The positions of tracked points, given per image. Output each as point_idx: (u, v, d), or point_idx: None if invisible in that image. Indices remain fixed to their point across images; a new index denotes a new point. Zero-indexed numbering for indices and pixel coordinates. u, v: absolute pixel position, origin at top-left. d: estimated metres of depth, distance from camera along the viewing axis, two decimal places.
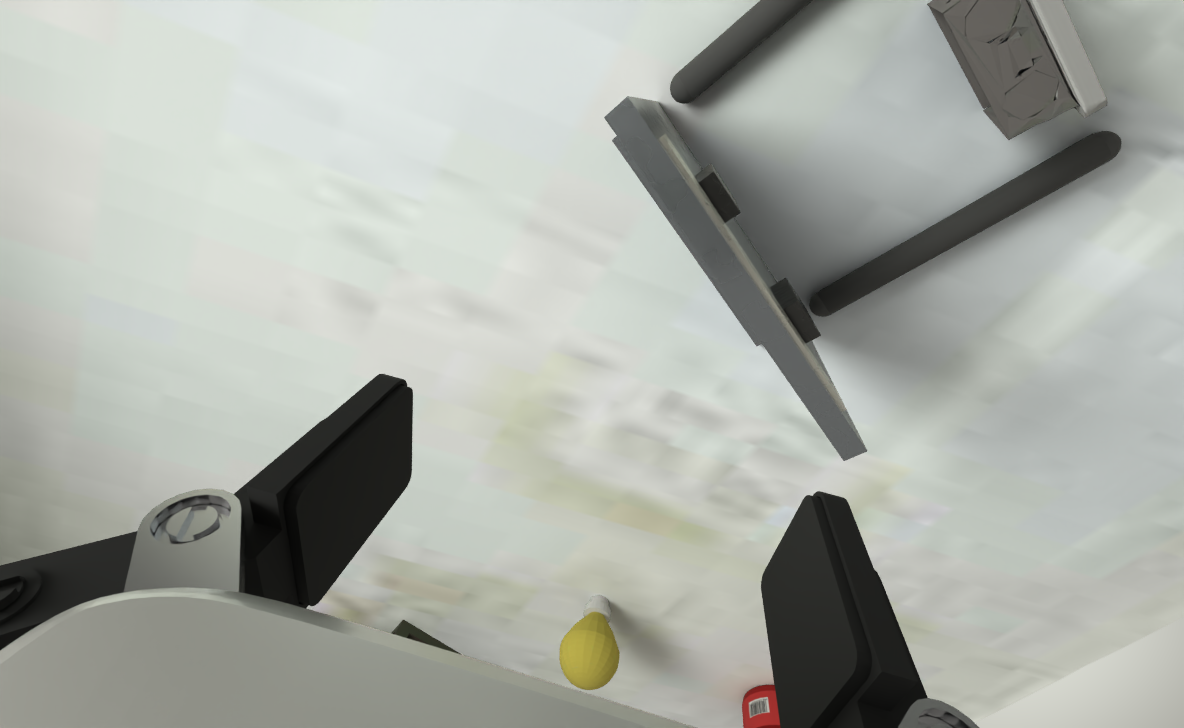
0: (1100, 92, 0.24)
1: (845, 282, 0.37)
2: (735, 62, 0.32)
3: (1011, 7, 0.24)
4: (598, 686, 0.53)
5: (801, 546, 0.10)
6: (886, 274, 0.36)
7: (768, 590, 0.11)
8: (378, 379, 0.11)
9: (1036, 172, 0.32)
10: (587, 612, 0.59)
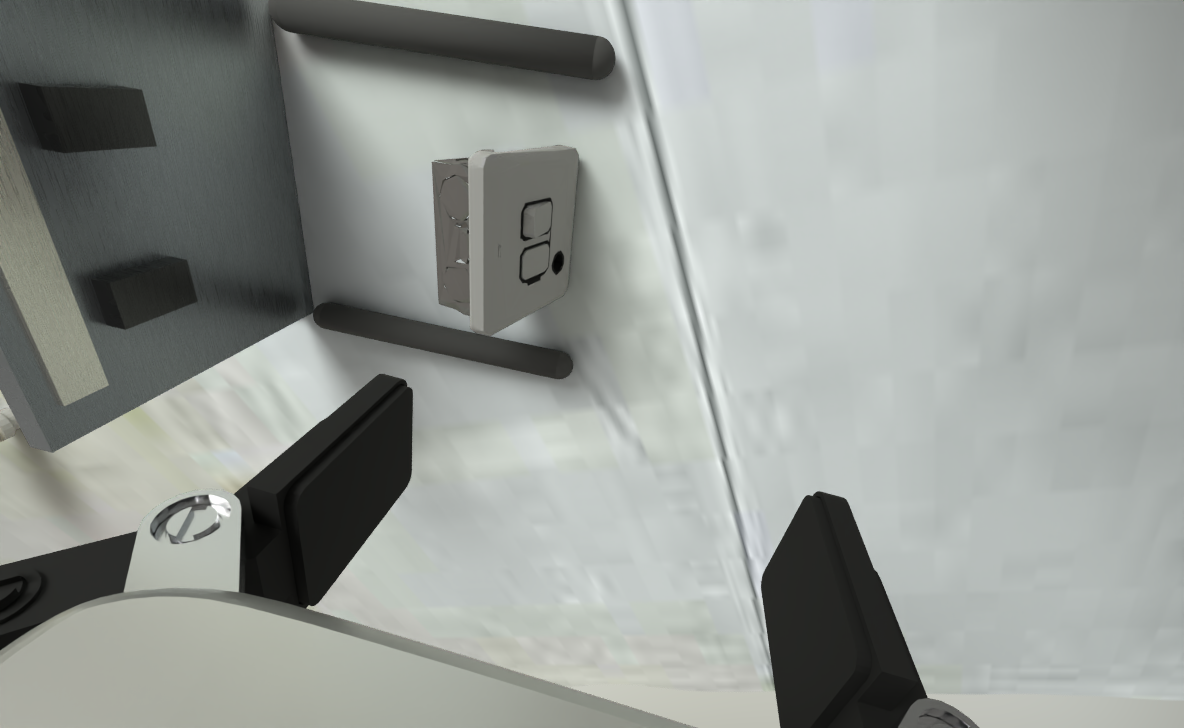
0: (481, 323, 0.26)
1: (348, 313, 0.36)
2: (339, 37, 0.28)
3: (468, 205, 0.24)
4: None
5: (801, 546, 0.10)
6: (377, 333, 0.36)
7: (768, 590, 0.11)
8: (378, 379, 0.11)
9: (513, 347, 0.35)
10: None
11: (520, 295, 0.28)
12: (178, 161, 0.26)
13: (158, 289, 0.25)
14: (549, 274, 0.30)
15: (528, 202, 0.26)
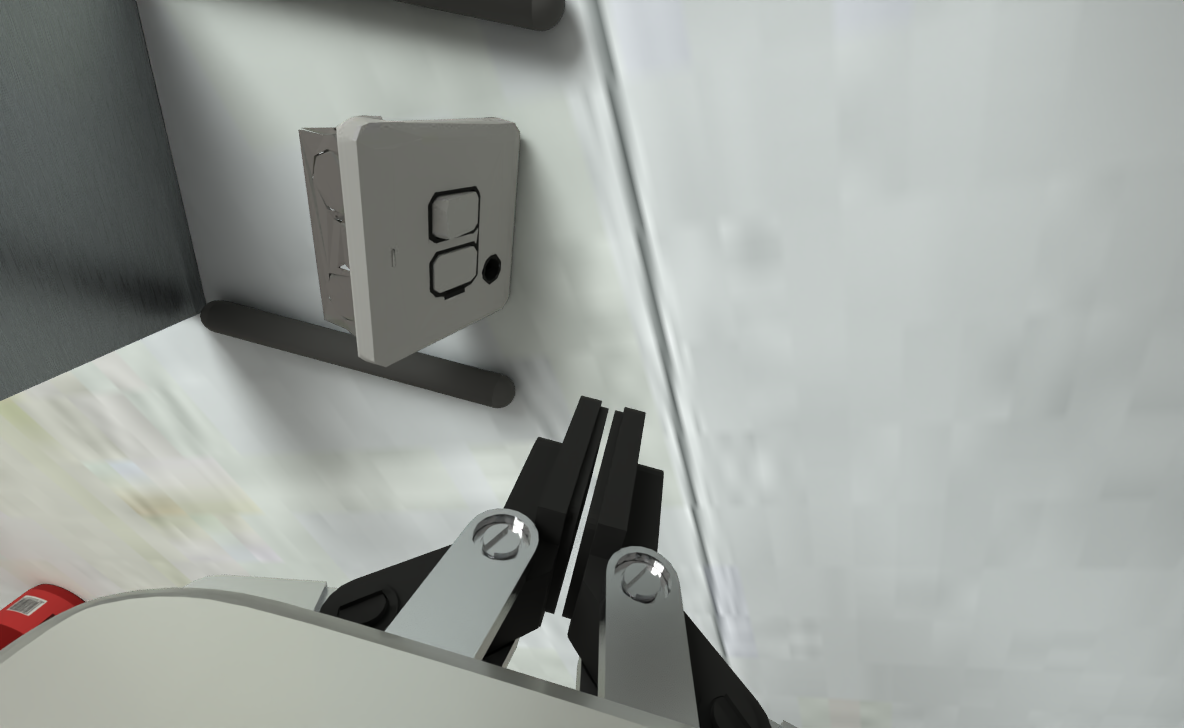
0: (371, 351, 0.20)
1: (242, 315, 0.30)
2: None
3: None
4: None
5: None
6: (276, 342, 0.29)
7: None
8: (583, 401, 0.11)
9: (441, 367, 0.29)
10: None
11: (434, 312, 0.22)
12: None
13: None
14: (479, 284, 0.24)
15: (439, 192, 0.19)
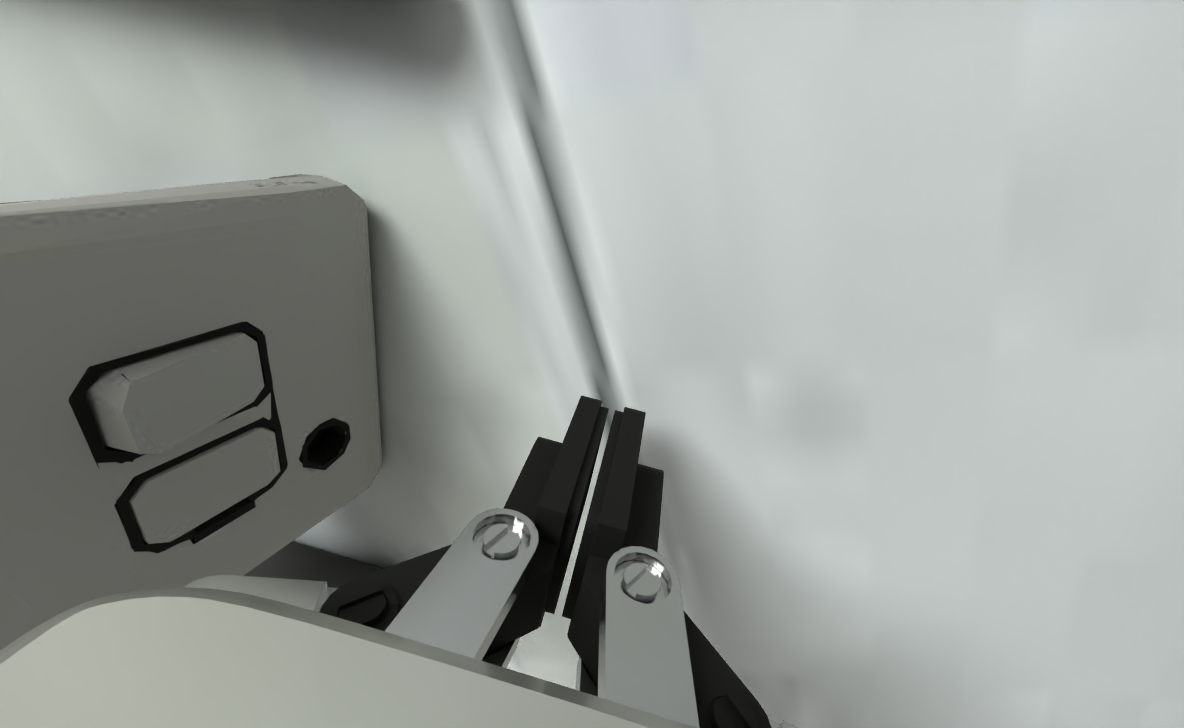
0: None
1: None
2: None
3: None
4: None
5: None
6: None
7: None
8: (583, 401, 0.11)
9: (280, 567, 0.17)
10: None
11: (163, 575, 0.10)
12: None
13: None
14: (295, 479, 0.13)
15: (109, 361, 0.08)
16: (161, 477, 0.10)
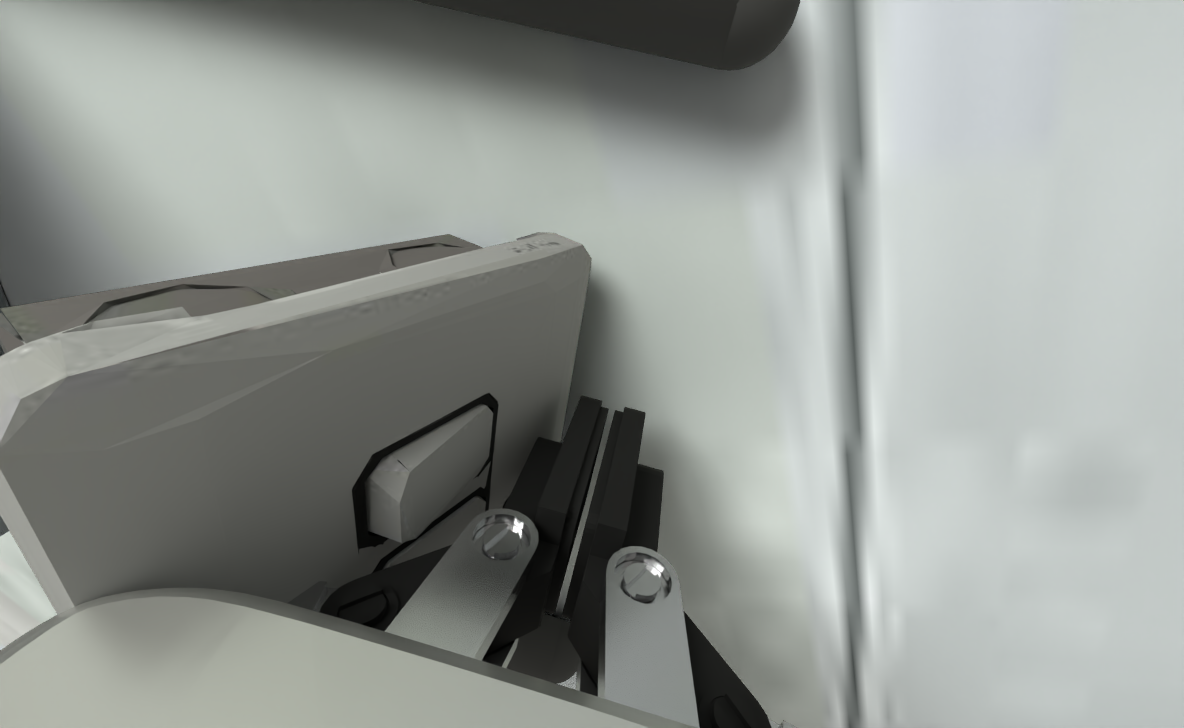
0: None
1: None
2: None
3: None
4: None
5: None
6: None
7: None
8: (584, 401, 0.11)
9: None
10: None
11: None
12: None
13: None
14: None
15: (388, 447, 0.08)
16: (400, 557, 0.09)
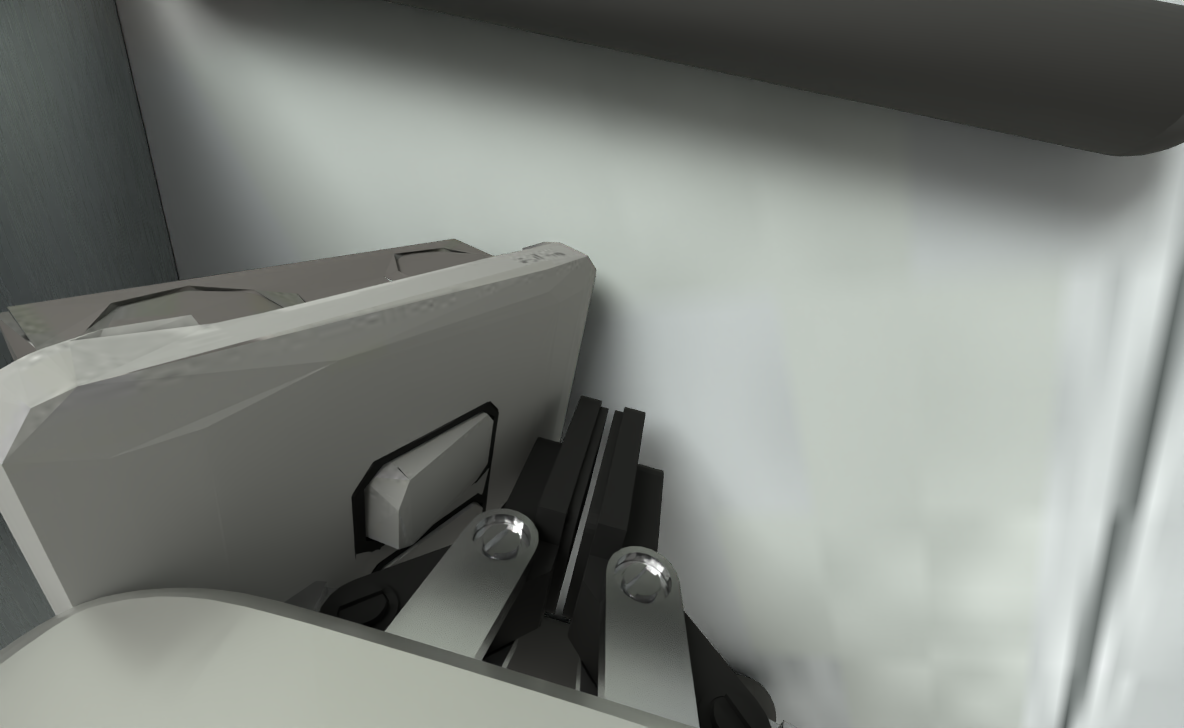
0: None
1: None
2: None
3: None
4: None
5: None
6: None
7: None
8: (584, 401, 0.11)
9: None
10: None
11: None
12: None
13: None
14: None
15: (388, 454, 0.08)
16: (396, 562, 0.09)
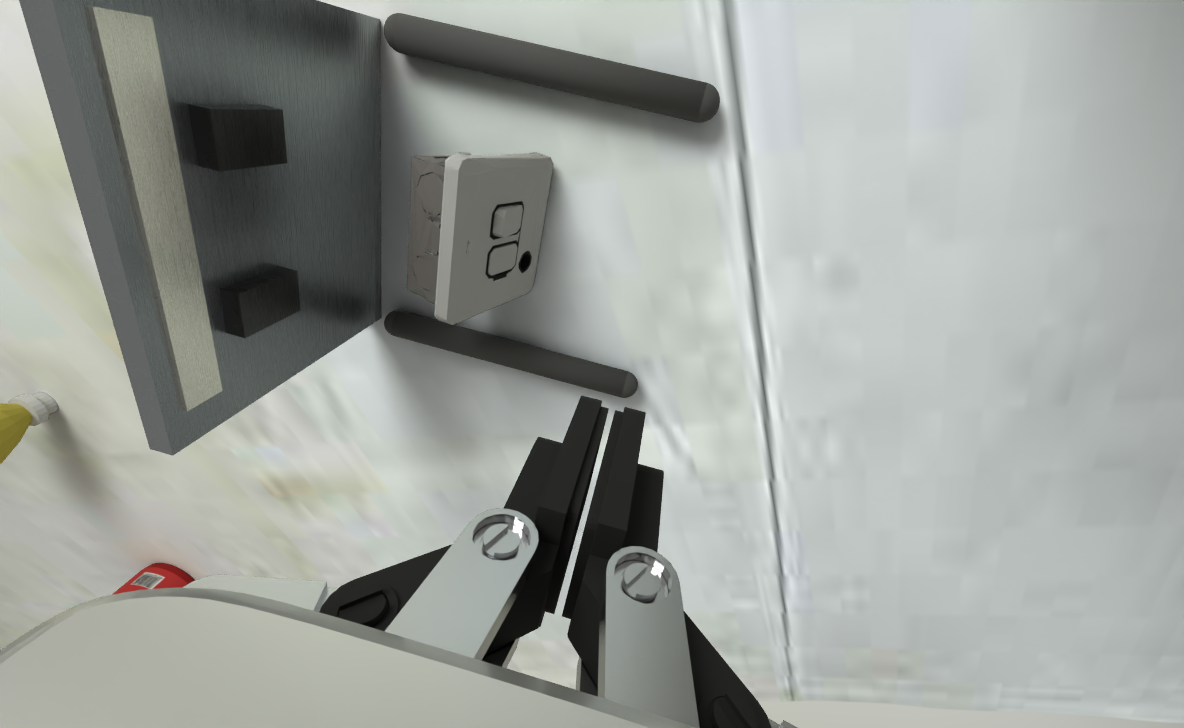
0: (445, 312, 0.28)
1: (420, 322, 0.37)
2: (451, 63, 0.29)
3: (442, 201, 0.26)
4: None
5: None
6: (448, 344, 0.37)
7: None
8: (583, 401, 0.11)
9: (582, 365, 0.36)
10: (14, 402, 0.49)
11: (485, 289, 0.30)
12: (296, 175, 0.27)
13: (273, 299, 0.26)
14: (515, 272, 0.32)
15: (500, 204, 0.28)
16: (496, 249, 0.29)
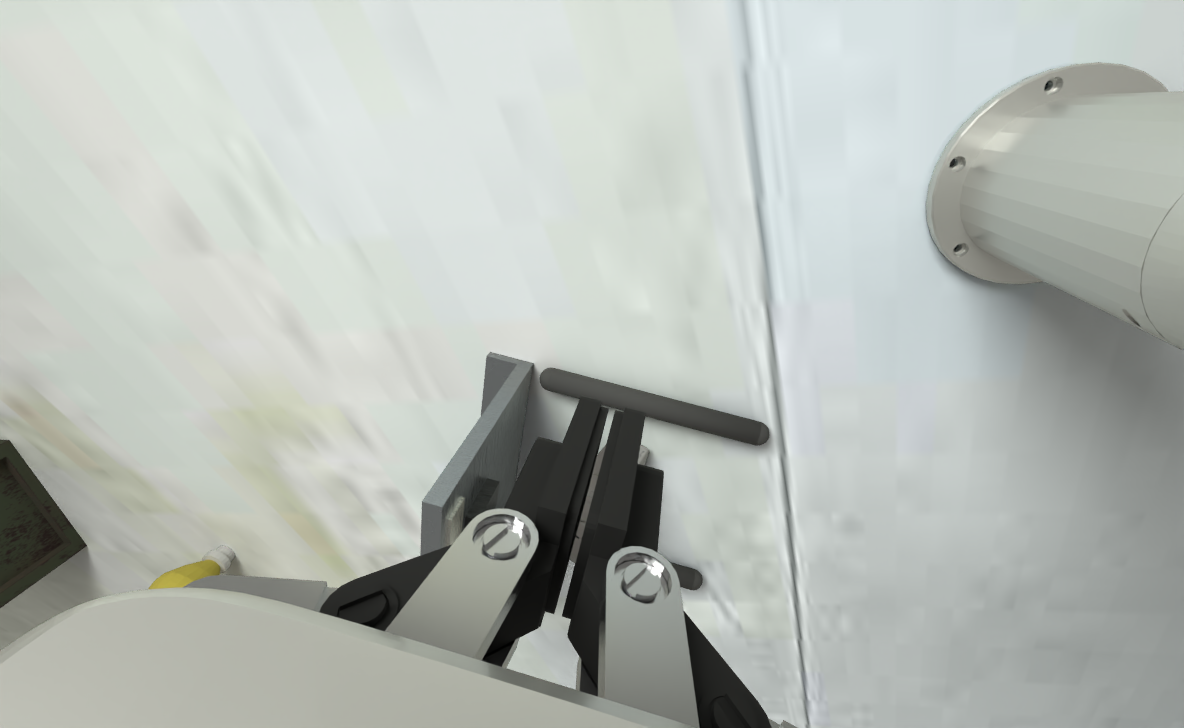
0: None
1: None
2: None
3: None
4: None
5: None
6: None
7: None
8: (584, 401, 0.11)
9: None
10: (208, 558, 0.63)
11: None
12: None
13: None
14: None
15: None
16: None
